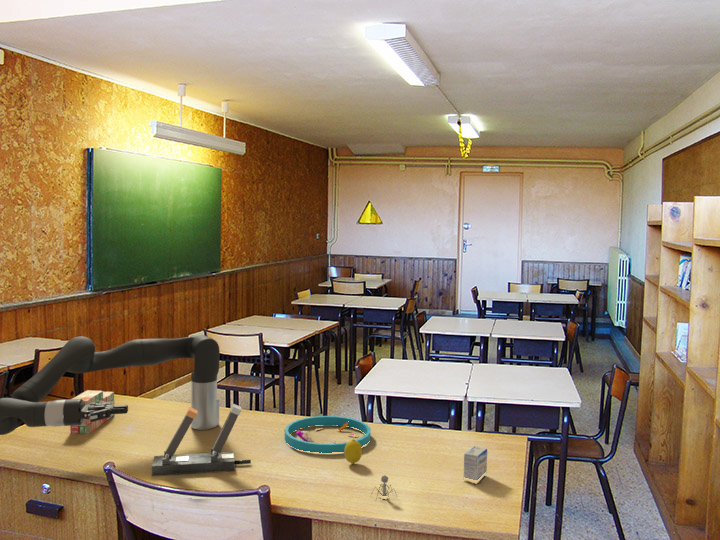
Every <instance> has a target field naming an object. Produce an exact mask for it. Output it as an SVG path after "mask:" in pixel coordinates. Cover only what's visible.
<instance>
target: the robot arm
mask: <svg viewBox="0 0 720 540" xmlns="http://www.w3.org/2000/svg"><path fill="white" fill-rule="evenodd" d="M220 352H221V351H220V346H219V342H217V341H216V340H215V339H214V338H212V337H210V336H207V335H204V334H198V335H192V336H187V337H180V338H138V339H132V340H129V341H126V342H125V343H122V344H120V345H118V346H115V347H113V348H111V349H107V350H105V351H103V350H102V351H96V346H95V342H94V341H93V340H92V339H91V338H89V337H87V336H82V335H81V336H76V337H73V338H71V339H69V340H68V341H67V342H66V343H65V344H64V345H63V346H62V347H61V349H60V350H59V351H58V352H57V353H56V354H55V355H54V356H53V357H52V358H51V359H50V360H49V361H48V362H47V363H46V364H45V365H44V366H43V367H42V368H41V369H40V370H39V371H37V372H36V373H35V374H34V375H33V376H32V377H31V378H29V379H28V380H27V381H25V382H24V383H23V384H21V386H19V387H18V388H17V389H15V390H14V391H13V392H12V395H11V397H1V398H0V436H4V435H8V434H11V433H12V432H14V431H15V430H17V428H18V427H20V425H21V424H22V423H24V425H25V426H26V427H28V428H38V427H70V426H73V425H81V424H82V423H83V420H84V419H89V420H90V422H94V421H98V420H101V419H105V418H109V417H111V416H112V415H114V414H115V415H124V414H127V413H128V412H129V405H127V404H121V405H120V404H117V405H116V404H114V405H113V403H110V402H105V401H97V403H90V404H88V405H85V404H84V402H83V400H82V399H73V398H70V399H69V398H68V399H56V400H49V401H43V400H44V399H45V397H47V396H48V395H49V394H50V392H52V391H53V389H54V388H55V387H56V385H57V384H58V382H60V380H61V379H62V377H64V375H65V374H66V373H67V372H68V373H70V374H71V373H72V374H86V373H92V372H98V371H103V370H110V369H119V368H129V367H145V366H146V367H147V366H154V365H159V364H162V363H165V362H168V361H171V360H176V359H193V360H194V363H193V364H194V368H193V371H192V372H191V375H190V407H191V408H193V409H195V410H197V415H196V417H195V419H193V421H192V423H191V425H190V428H191V429H194V430H197V431H198V430H199V431H200V430H201V431H204V430H205V431H206V430H211V429H214V428H216V427H217V426H219V425H220V399H219V398H218V374H219V371H220V358H221V357H220V356H221V355H220ZM115 415H114V416H115ZM111 418H112V417H111Z"/></svg>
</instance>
